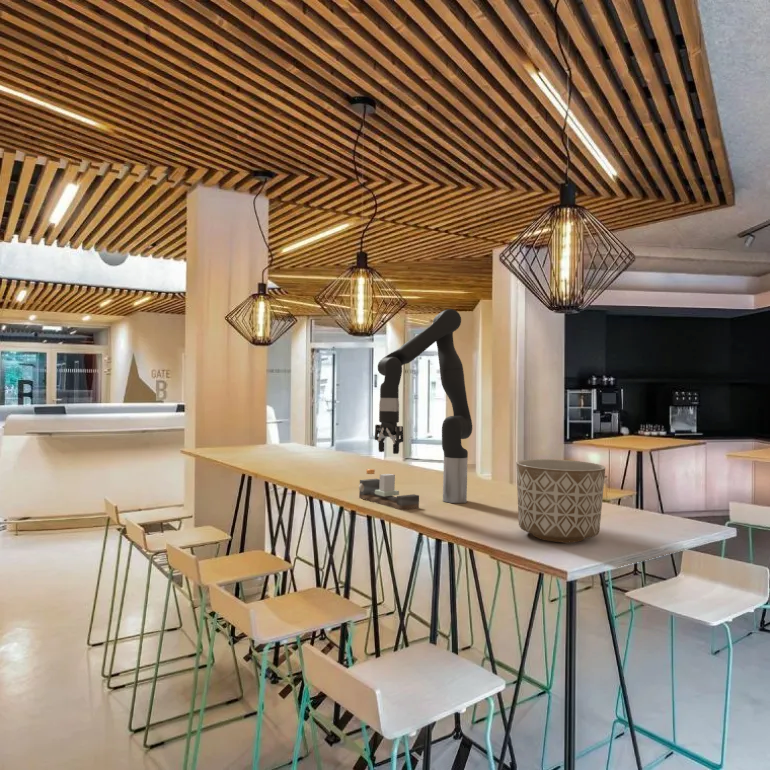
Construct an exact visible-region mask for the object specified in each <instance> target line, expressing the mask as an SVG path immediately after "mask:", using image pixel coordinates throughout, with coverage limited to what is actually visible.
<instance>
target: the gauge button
mask: <svg viewBox="0 0 770 770" xmlns="http://www.w3.org/2000/svg"><path fill="white" fill-rule="evenodd" d="M375 471H376V470H375V469H373V468H367V469H366V472H365V473H366V475H375V473H376V472H375Z"/></svg>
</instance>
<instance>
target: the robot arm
mask: <svg viewBox="0 0 770 770" xmlns="http://www.w3.org/2000/svg"><path fill="white" fill-rule="evenodd" d="M461 324H462V317H461V314H460V313H459V311H457V310H456V309H453V308H452V309H451V308H450V309H449V308H448V309H445V310H442V311H441V312H439V313H438V314H436V315H435V316H434V317H433V321H432V323H431V325H429V326H428V327H426V328H425V329H424V330H423V331H421V332H419V333H417V334H416V335H415V336H413V337H412V338H410V339H409V340H408V341H406V342H405V343H403V344H402V345H401V346H400V347H398V348H397V349H396V350H394V351H392V352H390V353H388V354H387V355H386V356H384V357H382V359H380V360H379V362H378V364H377V370H378V372H379V374H380V375H382V376H384V379H383V382H382V383H381V384H380V389H379V390H380V391H379V404H378V405H379V406H378V407H379V408H378V409H379V410H378V412H379V413H378V414H379V415H378V421H379V423H380V424H375V426H374V440H375V441H377V443H378V452H379V453H384V452H385V441H386V439H387V438H390V439H391V441H392V453H393V454H394V455H398V454H399V453H400V444H401V443H404V426H403V425H398V423H399V422H400V401H399V395H400V394H399V390H400V389H399V387H400V384H401V379H402V378H401V377H402V374H403V366H404V365H407V364H409V363H411V362H412V361H414V360H415V359H416V358H418V357H419V356H420V355H422V353H424V352H425V351H426V350H427V349H428V348H430V346H432V345H433V344H435V343H436V347H437V355H438V357H437V358H438V363H439V374H440V382H441V386H442V388H443V390H444V392H445V394H446V397H448V399H449V401H450V404H451V407H452V413H453V415H450V416H449V415H448V416H447V417H445V419H444V420H443V421H442V425H441V448H442V451H443V473H442V474H443V476H442V479H443V480H442V483H443V484H442V501H443V502H445V503H450V504H451V503H452V504H462V503H463V504H465V503H466V504H467V502H468V501H467V498H468V496H467V495H468V493H467V492H468V461H469V460H468V457H469V456H468V455H469V454H468V453H469V452H468V450H467V449H465V448H464V447H463V446H462V440H466V439H468V438H469V437H470V436H471V435H472V432H473V421H472V417H471V412H470V407H469V404H468V398H467V397H468V396H467V390H466V384H465V382H466V381H465V373H464V366H463V362H462V360H461V358H460V357H459V353H457V350H456V349H455V343H454V332H456V331H457V330H458V329H459V328H460V326H461Z"/></svg>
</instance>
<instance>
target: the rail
mask: <svg viewBox="0 0 770 770" xmlns="http://www.w3.org/2000/svg"><path fill="white" fill-rule="evenodd" d="M379 483H380V478H367V479H359V485H358V491H359V496H358V497H359V499H362V500H366V501H369V502H372V503H376V504H380V505H382V506H386V507H390V508H393V509H397V510H401V511H404V510H412V509H418V508H419V507H420V495H419V494H415V493H413V494H403V495H396V496H395V495H393V496H381V495H377V494H375V490H379Z"/></svg>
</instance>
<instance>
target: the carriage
mask: <svg viewBox="0 0 770 770" xmlns="http://www.w3.org/2000/svg"><path fill="white" fill-rule="evenodd" d="M379 479H380V483H379V490H375V494H377V495H381V496H400V491H399V490H396V489H395V487H396V486H395V483H396V482H395V481H396V474H395V473H394V474H392V473H383V474H379Z"/></svg>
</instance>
